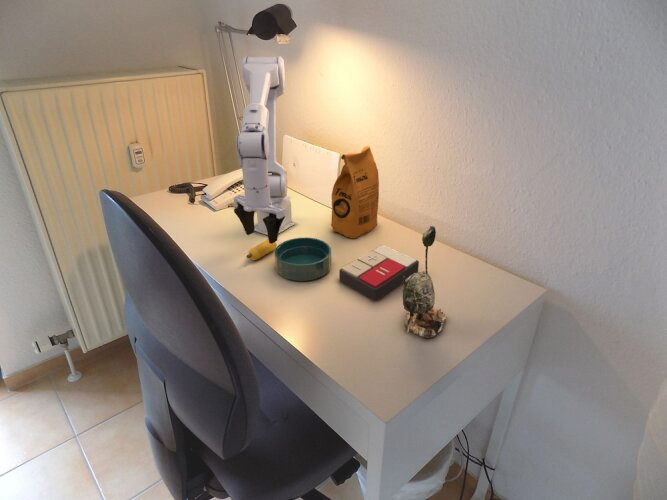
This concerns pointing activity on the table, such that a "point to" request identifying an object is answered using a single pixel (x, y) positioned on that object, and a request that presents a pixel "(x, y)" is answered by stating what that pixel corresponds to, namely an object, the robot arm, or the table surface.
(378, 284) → the calculator
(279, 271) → the teal bowl
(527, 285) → the table surface
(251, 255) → the amber tube
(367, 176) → the coffee package
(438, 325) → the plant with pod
